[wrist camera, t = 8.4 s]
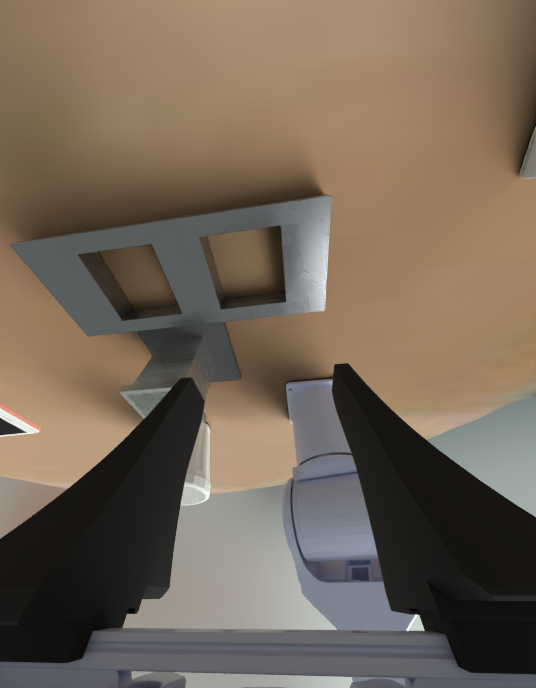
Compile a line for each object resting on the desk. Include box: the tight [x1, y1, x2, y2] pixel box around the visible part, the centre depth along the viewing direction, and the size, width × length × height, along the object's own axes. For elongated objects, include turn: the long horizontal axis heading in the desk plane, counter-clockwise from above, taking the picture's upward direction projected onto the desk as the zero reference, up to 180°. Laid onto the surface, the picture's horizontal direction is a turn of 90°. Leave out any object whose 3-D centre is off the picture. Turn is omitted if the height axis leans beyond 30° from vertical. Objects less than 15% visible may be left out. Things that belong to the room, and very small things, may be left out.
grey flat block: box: [10, 194, 331, 336], centre depth 16 cm, size 8×22×2 cm, turn 97°
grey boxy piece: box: [119, 336, 215, 423], centre depth 20 cm, size 5×5×7 cm
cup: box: [181, 422, 211, 505], centre depth 29 cm, size 10×10×9 cm
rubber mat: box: [137, 322, 241, 382], centre depth 23 cm, size 9×9×1 cm
